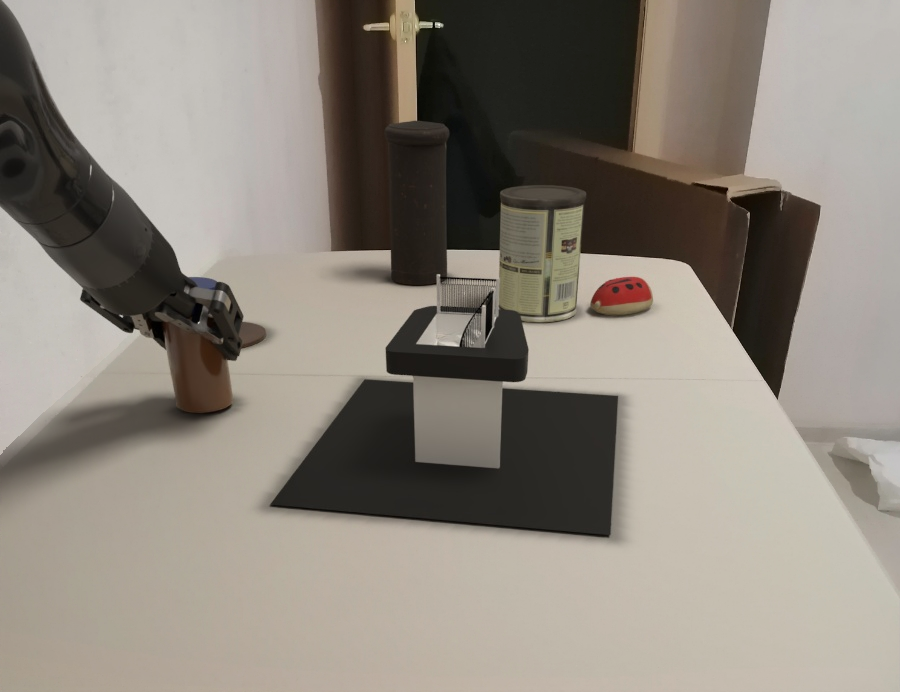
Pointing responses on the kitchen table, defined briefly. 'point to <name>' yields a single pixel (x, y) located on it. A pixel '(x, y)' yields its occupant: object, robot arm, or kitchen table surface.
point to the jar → (197, 370)
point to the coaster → (251, 334)
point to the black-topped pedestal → (464, 432)
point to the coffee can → (540, 251)
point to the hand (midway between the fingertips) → (206, 348)
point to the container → (417, 201)
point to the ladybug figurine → (622, 296)
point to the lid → (204, 283)
